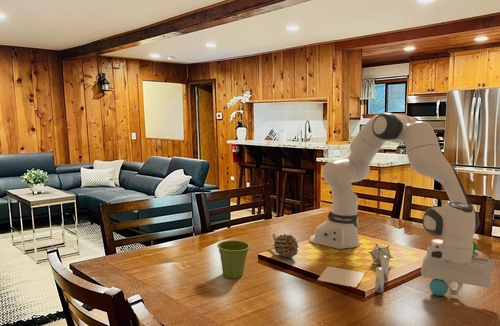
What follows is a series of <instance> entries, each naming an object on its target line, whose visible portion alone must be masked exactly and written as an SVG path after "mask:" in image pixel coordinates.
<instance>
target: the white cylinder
mask: <svg viewBox="0 0 500 326" xmlns="http://www.w3.org/2000/svg"><path fill="white" fill-rule="evenodd" d="M442 243H443V238H442V239H439V238H433V239H431V245H437V244H442Z"/></svg>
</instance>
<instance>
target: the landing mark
mask: <svg viewBox="0 0 500 326" xmlns="http://www.w3.org/2000/svg"><path fill="white" fill-rule="evenodd" d="M364 276H365V272H361V271H356V270H352V269H351V270H349V269H343V268H339V267H338V268H337V267H334V266H327V267H326V268H325V269H324V271H323V272H322V274H320V275H319V277H318V278H317V281H320V282H325V283H331V284H335V285H341V286H346V287H350V286H351V287H350V288H355V287H354V286H357V285H358V283H360V284H361V282H362V280H363V278H364ZM360 281H361V282H360Z"/></svg>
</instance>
